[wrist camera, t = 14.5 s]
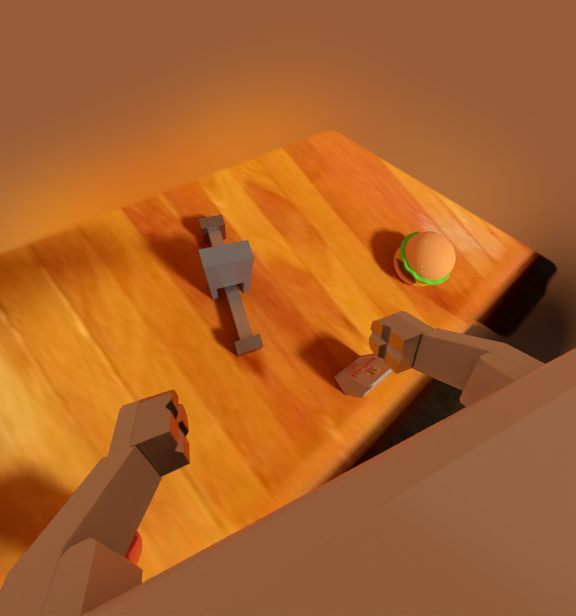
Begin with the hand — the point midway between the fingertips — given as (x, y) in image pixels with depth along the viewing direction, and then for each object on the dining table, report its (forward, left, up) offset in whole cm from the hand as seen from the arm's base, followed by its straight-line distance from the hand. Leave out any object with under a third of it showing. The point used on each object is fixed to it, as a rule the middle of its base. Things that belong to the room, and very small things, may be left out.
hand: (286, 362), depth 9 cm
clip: (-10, +11, -31) cm, 35 cm away
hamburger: (+22, +36, -32) cm, 53 cm away
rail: (-10, +12, -31) cm, 35 cm away
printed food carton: (+17, +8, -32) cm, 37 cm away
